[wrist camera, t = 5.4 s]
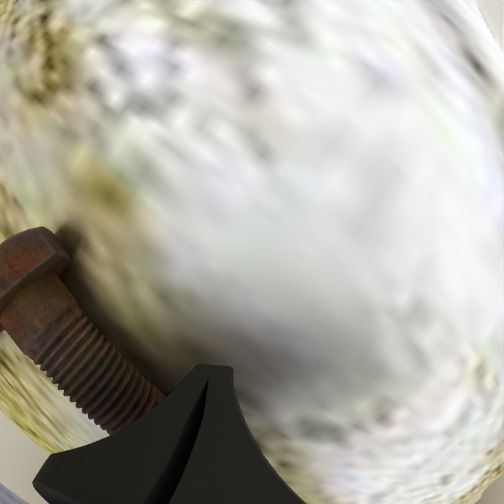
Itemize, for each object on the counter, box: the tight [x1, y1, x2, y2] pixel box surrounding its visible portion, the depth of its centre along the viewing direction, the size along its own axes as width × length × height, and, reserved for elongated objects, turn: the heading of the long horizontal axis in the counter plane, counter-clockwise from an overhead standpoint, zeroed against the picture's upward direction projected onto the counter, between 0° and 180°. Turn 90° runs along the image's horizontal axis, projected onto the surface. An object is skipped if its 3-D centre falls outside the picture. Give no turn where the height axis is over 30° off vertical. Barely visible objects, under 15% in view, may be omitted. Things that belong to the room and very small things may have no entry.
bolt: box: [0, 226, 167, 435], centre depth 9 cm, size 6×5×15 cm
